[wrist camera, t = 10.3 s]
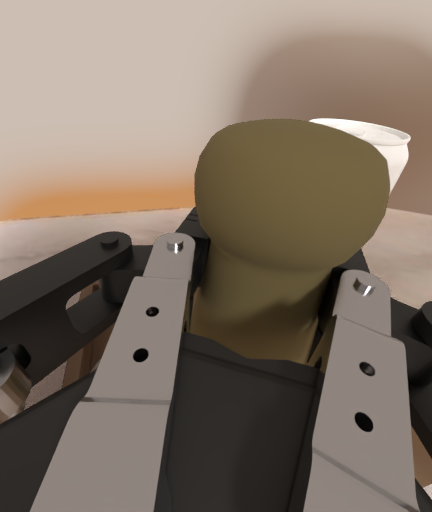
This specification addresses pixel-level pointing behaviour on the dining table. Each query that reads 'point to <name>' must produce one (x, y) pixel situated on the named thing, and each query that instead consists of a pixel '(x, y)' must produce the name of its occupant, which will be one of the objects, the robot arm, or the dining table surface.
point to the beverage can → (377, 142)
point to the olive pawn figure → (280, 229)
